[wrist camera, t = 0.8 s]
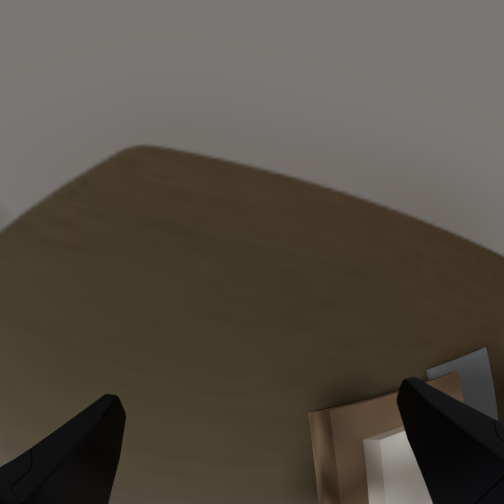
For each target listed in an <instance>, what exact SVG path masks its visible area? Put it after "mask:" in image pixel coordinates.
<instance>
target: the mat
mask: <svg viewBox="0 0 504 504" xmlns="http://www.w3.org/2000/svg"><path fill="white" fill-rule="evenodd" d="M457 370H458V373H459V378H460V383H461V389H462V395H463V401H464V403H465V404H466V405H468V406H470V407H472V408H474V409H476V410H478V411H480V412H482V413H484V414H486V415H488V416H490V417H492V418H493V419H496V420H498V413H497V405H496V397H495V390H494V384H493V379H492V373H491V368H490V363H489V358H488V354H487V349H486V347H484V348H482V349H480V350H477V351H475V352H473V353H470V354H468V355H465V356H463V357H460V358H458V359H455V360H453V361H450V362H447V363H445V364H442V365H439V366H436V367H434V368H431V369H428V370H426V371H427V376H428V380H430V379H434V378H437V377H440V376H443V375H446V374H449V373H452V372H454V371H457Z"/></svg>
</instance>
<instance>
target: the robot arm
mask: <svg viewBox="0 0 504 504" xmlns="http://www.w3.org/2000/svg"><path fill="white" fill-rule="evenodd" d="M396 401H397V406H398V409H399V412H400V415H401V419H402V422H403V426H404V429H405V433H406V436H407V439H408V441H409V444H410V446H411V449H412V451H413V454H414V456H415V459H416V461H417V463H418V466H419V469H420V471H421V474H422V476H423V479H424V481H425V484H426V487H427V489H428V492H429V495H430V497H431V500H432V503H433V504H504V423H502V422H500V421H498V420H496V419H493V418H492V417H490V416H488V415H486V414H484V413H482V412H480V411H478V410H476V409H474V408H472V407H470V406H468V405H466V404H465V403H463V402H461V401H459V400H457V399H455V398H453V397H451V396H449V395H447V394H445V393H444V392H442V391H440V390H438V389H436V388H434V387H432V386H430V385H429V384H427V383H425V382H423V381H421V380H419V379H418V378H415V377H411V378H407V379H404V380H403V381H402V383H401V386H400V389H399V392H398V395H397V399H396ZM125 421H126V414H125V411H124V408H123V406H122V404H121V401H120V399H119V397H118V396H116V395H110V394H105V395H103V396H102V397H101V398H99V399H98V400H97V401H95V402H94V403H93V404H91V405H90V406H89V407H87V408H86V409H85V410H83V411H82V412H80V413H79V414H78V415H76V416H75V417H74V418H72V419H71V420H69V421H68V422H67V423H65V424H64V425H63V426H61V427H60V428H58V429H57V430H56V431H54V432H53V433H51V434H50V435H49V436H47V437H46V438H44V439H43V440H42V441H40V442H39V443H37V444H36V445H35V446H33V447H32V448H30V449H29V450H27V451H26V452H24V453H23V454H21V455H20V456H18V457H17V458H15V459H14V460H12V461H10V462H9V463H7V464H5V465H3V466H1V467H0V504H108V502H109V498H110V494H111V490H112V486H113V482H114V478H115V474H116V470H117V466H118V463H119V458H120V453H121V447H122V440H123V433H124V427H125Z"/></svg>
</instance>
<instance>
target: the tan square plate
mask: <svg viewBox="0 0 504 504" xmlns="http://www.w3.org/2000/svg"><path fill="white" fill-rule="evenodd" d="M425 383H427V384H429V385H430V386H432V387H434V388H436V389H438V390H440V391H442V392H444V393H445V394H447V395H449V396H451V397H453V398H455V399H457V400H459V401H461V402H463V403H464V401H463V395H462V389H461V383H460V378H459V373H458V370H457V371H454V372H452V373H449V374H446V375H443V376H440V377H437V378H434V379H430V380H427V381H425ZM398 392H399V390H398V391H394V392H391V393H388V394H384V395H381V396H377V397H374V398H370V399H366V400H362V401H358V402H354V403H350V404H346V405H342V406H337V407H332V408H328V409H323V410H318V411H312V412H308V417H309V424H310V432H311V440H312V448H313V456H314V465H315V474H316V483H317V492H318V502H319V504H369V497H368V484H367V473H366V463H365V454H364V445H363V439H366V438H369V437H372V436H375V435H378V434H381V433H384V432H387V431H390V430H392V429H395V428H398V427H401V426H403V422H402V419H401V415H400V412H399V409H398V406H397V401H396V399H397V395H398Z"/></svg>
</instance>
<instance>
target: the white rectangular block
mask: <svg viewBox="0 0 504 504" xmlns="http://www.w3.org/2000/svg"><path fill="white" fill-rule="evenodd" d="M363 445H364V454H365V463H366V473H367V484H368V497H369V504H433V503H432V500H431V497H430V495H429V492H428V489H427V487H426V484H425V481H424V479H423V476H422V474H421V471H420V469H419V466H418V463H417V461H416V459H415V456H414V454H413V451H412V449H411V446H410V444H409V441H408V439H407V436H406V433H405V429H404V426H401V427H398V428H395V429H392V430H390V431H387V432H384V433H381V434H378V435H375V436H372V437H369V438H366V439H363Z"/></svg>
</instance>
